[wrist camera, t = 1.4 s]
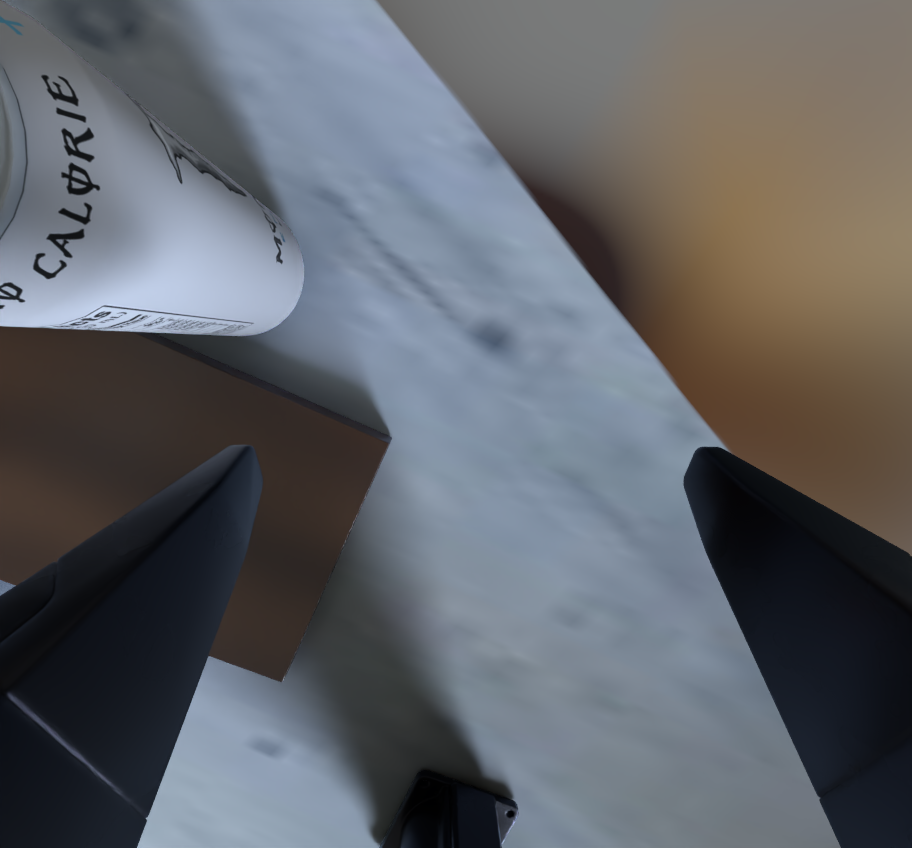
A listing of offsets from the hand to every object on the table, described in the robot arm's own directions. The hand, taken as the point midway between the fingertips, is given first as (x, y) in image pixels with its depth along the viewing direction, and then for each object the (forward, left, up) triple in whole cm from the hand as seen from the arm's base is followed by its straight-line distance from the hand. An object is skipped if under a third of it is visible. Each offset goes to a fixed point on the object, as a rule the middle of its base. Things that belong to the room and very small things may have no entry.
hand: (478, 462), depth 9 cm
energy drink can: (+1, +11, -14) cm, 18 cm away
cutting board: (-10, +12, -14) cm, 21 cm away
